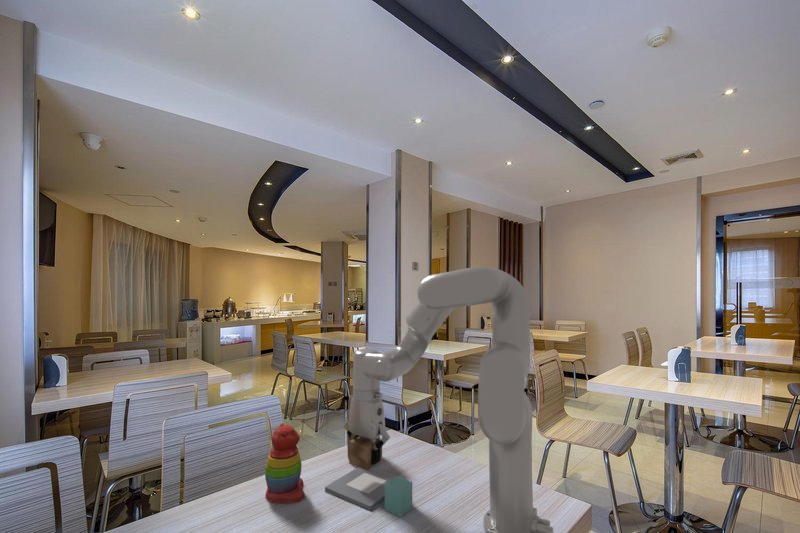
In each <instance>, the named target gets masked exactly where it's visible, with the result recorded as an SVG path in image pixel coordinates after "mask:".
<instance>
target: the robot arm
mask: <svg viewBox="0 0 800 533" xmlns="http://www.w3.org/2000/svg"><path fill="white" fill-rule="evenodd" d="M416 292H417V294H416V295H417V299H418V301H416V304H415V305H414V306H413V308H412V309H411V310H410V311H409V313H408V314H407V315H406V318H405V320H406V324H407V326H408V329H407V331H406V333H405V335H404V337H403V338H402V339H401V341H400V343H398V345H397V346H396V347H395V348H393V349H391V350H388V351H383V352H379V351H378V350H377V349H373V348H360V349H356V350H355V351H354V353H353V359H352V365H353V366H352V368H353V369H352V394H353V398H352V399H351V404H350V411H349V421H348V420H347V422H346V423H344V425H343V428H344V429H345V431H346V434H348V436H349V438H350V441H351V440H353V439H355V438H357V437H359V436H362V437H365V438H368V439H370V440H371V443H372V446H373V449H372V456H371V464H372V465H375V464H376V463H378V462H379V461H380V458H381V447H382V448H383V446H384V445H385V444H386V443H387V442H388V441H389V440H390V438H391V436H390V435H389V433H388V431H387V429H386V420H385V419H386V417H385V416H386V414H385V408H384V402H383V400H382V399H381V398H382V397H383V393H382V392H381V391H380V390H381V386H380V385H381V382H384V383H385V382H391V381H394V380H395V379H397V378H399V377H402V376H403V375H406V374H408V373H409V372H410V371H411V370H412V369H413V368H414V366H415V365H416V364H417V363H418V361H420V359H421V358H422V356H424V354H425V352H426V350H427V349H428V347H429V345H430V343H431V341H432V338H433V336H434V335H435V334H436V332H437V331H438V330H439V329H440V327H441V326H442V324H443V323H444V322H445V321H446V319H448V317H449V315H450V314H451V313H452V312H453V311H454V309H455V308H462V307H463V308H464V307H468V306H470V307H471V306H476V305H485V304H491V305H492V307H493V314H492V315H493V316H492V323H491V325H492V326H491V327H492V333H491V334H492V335H491V347H490V348H489V349H488V350H486V352H485V353H484V354H483V356H482V358H481V360H480V363H479V368H478V369H479V370H478V391H477V392H478V396H477V403H478V404H477V420H478V424H479V427H480V429H481V432H482V433H483V434H484V436H485V437H486V438H487V439H488V462H489V463H488V467H489V468H488V469H489V474H488V475H489V476H488V477H489V510H488V511H486V512H485V514H484V515H483V527H484V530H485V531H486V533H554V527H552V526H551V521H550V520H548V519H544V518H541V517H540V515H538V509H537V508H536V507H534V497H533V492H534V491H533V488H534V487H533V445H532V443H533V407H532V406H533V405H532V403H531V400H530V398H529V396H528V395H527V394H526V392H525V380H526V378H527V376H528V374H529V372H530V371H531V370H530V369H531V329H530V328H531V326H530V324H531V319H530V318H531V316H530V315H531V314H530V313H531V312H530V301H529V297H528V295H527V291H526V290H525V288H524V286H523V285H522V284H521V283H520V282H519V281H518V279H516V278H515V277H514V276H513V275H511V274H510V273H508V272H505V271H504V270H501V269H499V268H495V267H489V266H481V265H480V266H472V267H467V268H462V269H455V270H450V271H445V272H440V273H433V274H430V275H428V276H426V277H425V278H423V279H422V280H421V281H420V282H419V285H418V286H417V291H416ZM375 439H376V440H377V444H376V440H375ZM378 464H379V463H378ZM375 466H376V465H375Z"/></svg>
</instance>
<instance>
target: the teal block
mask: <svg viewBox="0 0 800 533" xmlns="http://www.w3.org/2000/svg"><path fill="white" fill-rule="evenodd" d="M397 476H398V475H396V477H394V478H393V479H392V480H390V481H389V482H388V483H386V484H385V500H384V510H385V511H388V512H391V513H393V514H395V515H397V516H400V517H402V516H403V515H404V514H406V512H408V511H409V510H410V509H411V508H412V507H413V481H410V480H407V479H406V478H405V479H406V480H405V479H403V478H404V477H402V478H400V477H401V476H399V477H397Z"/></svg>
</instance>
